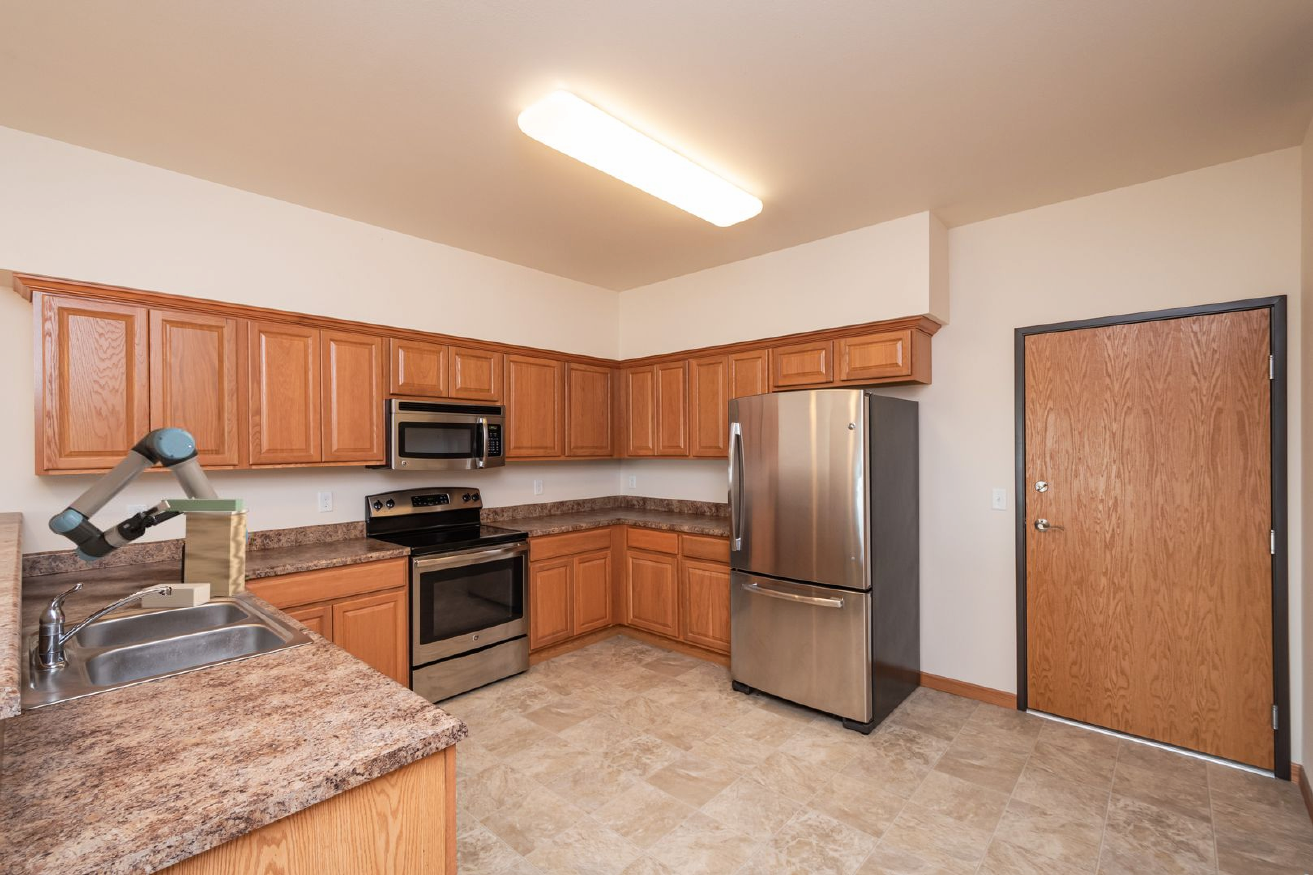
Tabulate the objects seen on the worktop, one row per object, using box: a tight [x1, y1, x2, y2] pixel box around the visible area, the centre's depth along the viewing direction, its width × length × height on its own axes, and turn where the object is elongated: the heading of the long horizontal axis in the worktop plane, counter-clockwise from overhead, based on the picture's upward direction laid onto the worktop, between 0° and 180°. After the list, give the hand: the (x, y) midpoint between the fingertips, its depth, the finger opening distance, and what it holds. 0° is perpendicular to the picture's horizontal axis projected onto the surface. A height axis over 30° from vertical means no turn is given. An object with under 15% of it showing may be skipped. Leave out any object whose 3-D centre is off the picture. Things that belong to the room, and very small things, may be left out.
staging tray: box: [141, 583, 211, 609], centre depth 199 cm, size 8×16×6 cm, turn 95°
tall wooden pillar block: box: [183, 508, 249, 598], centre depth 213 cm, size 10×16×30 cm, turn 95°
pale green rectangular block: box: [160, 498, 243, 512], centre depth 213 cm, size 4×25×4 cm, turn 95°
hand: (181, 502), depth 212 cm, fingers open, 13 cm apart
